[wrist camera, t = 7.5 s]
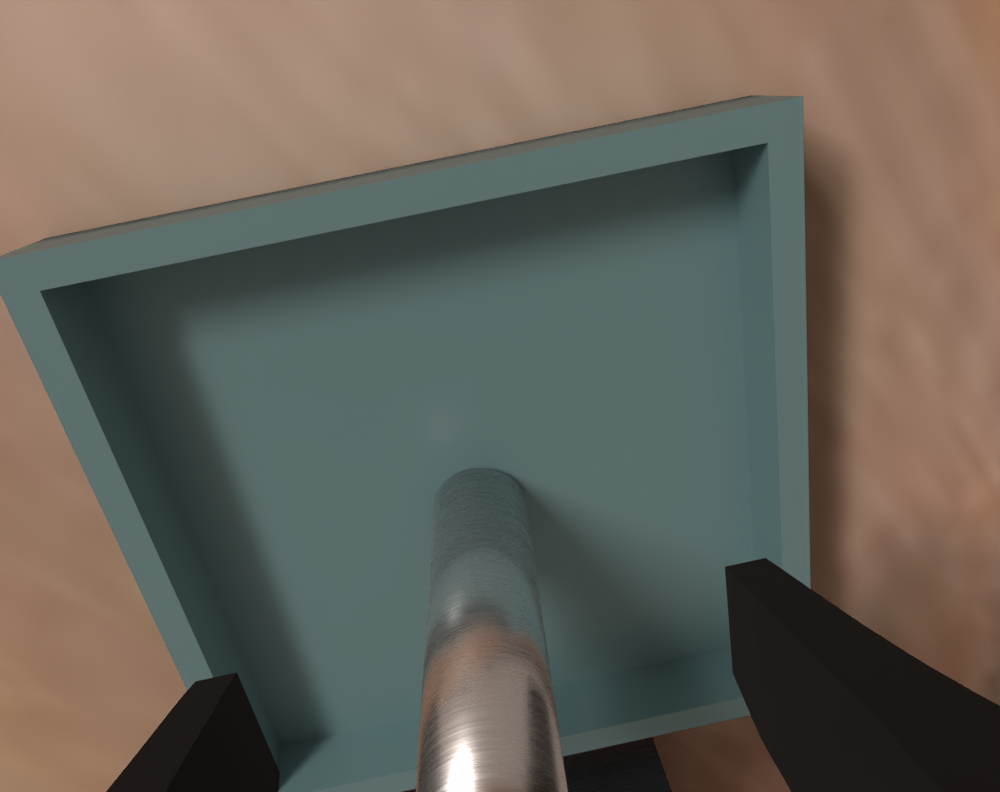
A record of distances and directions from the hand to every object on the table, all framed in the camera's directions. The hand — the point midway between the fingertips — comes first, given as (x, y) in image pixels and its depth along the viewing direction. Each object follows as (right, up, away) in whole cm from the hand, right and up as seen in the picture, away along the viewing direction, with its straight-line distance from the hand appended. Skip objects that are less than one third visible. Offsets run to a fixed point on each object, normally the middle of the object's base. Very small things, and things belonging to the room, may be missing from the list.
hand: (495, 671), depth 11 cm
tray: (-1, +2, +5) cm, 6 cm away
